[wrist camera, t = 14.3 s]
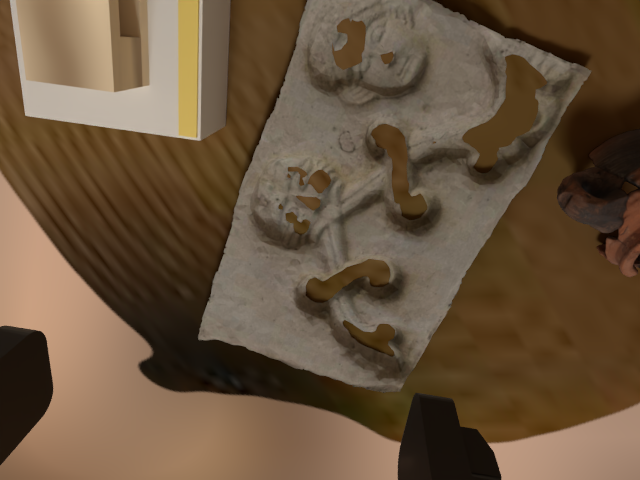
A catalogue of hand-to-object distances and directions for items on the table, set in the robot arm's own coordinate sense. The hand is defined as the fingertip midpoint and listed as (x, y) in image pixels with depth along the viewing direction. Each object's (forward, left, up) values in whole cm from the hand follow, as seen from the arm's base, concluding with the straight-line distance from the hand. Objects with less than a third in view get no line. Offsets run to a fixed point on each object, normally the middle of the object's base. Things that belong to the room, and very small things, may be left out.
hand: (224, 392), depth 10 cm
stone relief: (-4, +6, -29) cm, 30 cm away
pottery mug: (-22, +1, -28) cm, 36 cm away
